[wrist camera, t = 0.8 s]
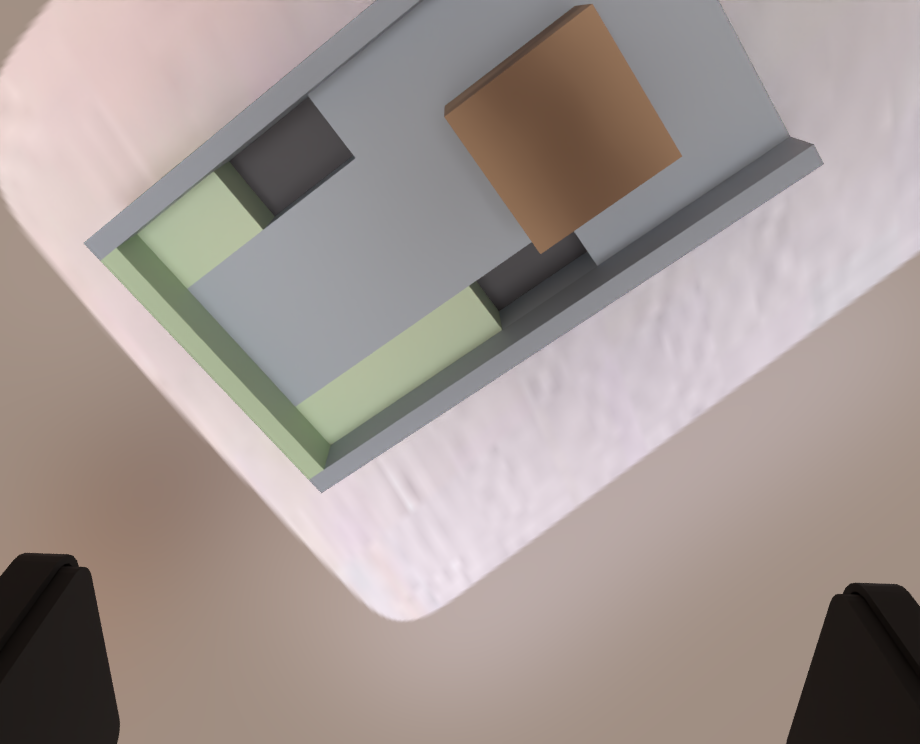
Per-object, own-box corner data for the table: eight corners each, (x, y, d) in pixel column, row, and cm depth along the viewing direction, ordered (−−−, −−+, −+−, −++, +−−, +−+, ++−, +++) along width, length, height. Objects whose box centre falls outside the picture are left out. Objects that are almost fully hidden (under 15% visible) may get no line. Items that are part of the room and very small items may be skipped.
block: (574, 5, 26) (592, 3, 23) (655, 141, 28) (682, 156, 25) (444, 105, 28) (444, 116, 24) (530, 229, 29) (540, 254, 26)
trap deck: (602, -175, 26) (630, -211, 22) (773, 144, 31) (823, 163, 27) (130, 214, 32) (83, 243, 27) (335, 439, 36) (321, 493, 32)
